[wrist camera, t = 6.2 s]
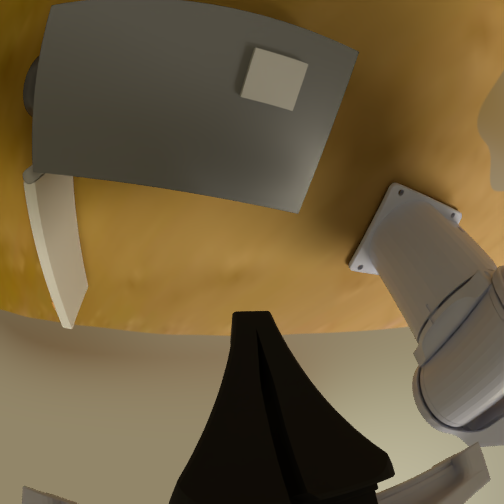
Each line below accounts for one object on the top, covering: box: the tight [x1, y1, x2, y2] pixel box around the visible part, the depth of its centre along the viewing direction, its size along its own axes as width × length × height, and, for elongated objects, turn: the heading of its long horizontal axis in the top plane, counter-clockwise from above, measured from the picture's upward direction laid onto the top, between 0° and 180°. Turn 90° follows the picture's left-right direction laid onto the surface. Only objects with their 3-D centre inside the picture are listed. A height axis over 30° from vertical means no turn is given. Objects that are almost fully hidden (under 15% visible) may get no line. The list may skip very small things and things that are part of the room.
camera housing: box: [23, 0, 359, 214], centre depth 11 cm, size 14×8×6 cm, turn 74°
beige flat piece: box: [23, 165, 88, 329], centre depth 15 cm, size 12×2×4 cm, turn 167°
